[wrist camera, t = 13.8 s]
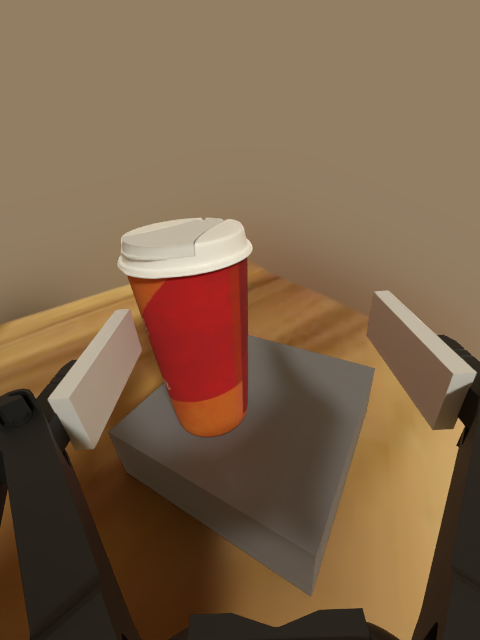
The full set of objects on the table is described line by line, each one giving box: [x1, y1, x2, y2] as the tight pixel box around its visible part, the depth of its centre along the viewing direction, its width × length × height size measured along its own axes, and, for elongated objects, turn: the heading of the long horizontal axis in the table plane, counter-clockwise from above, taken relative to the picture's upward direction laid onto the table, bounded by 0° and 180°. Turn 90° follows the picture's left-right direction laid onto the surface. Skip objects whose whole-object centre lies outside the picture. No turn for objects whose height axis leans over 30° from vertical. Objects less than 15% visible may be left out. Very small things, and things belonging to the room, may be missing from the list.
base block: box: [108, 335, 375, 596], centre depth 25 cm, size 16×16×5 cm
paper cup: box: [117, 218, 252, 438], centre depth 20 cm, size 8×8×14 cm
